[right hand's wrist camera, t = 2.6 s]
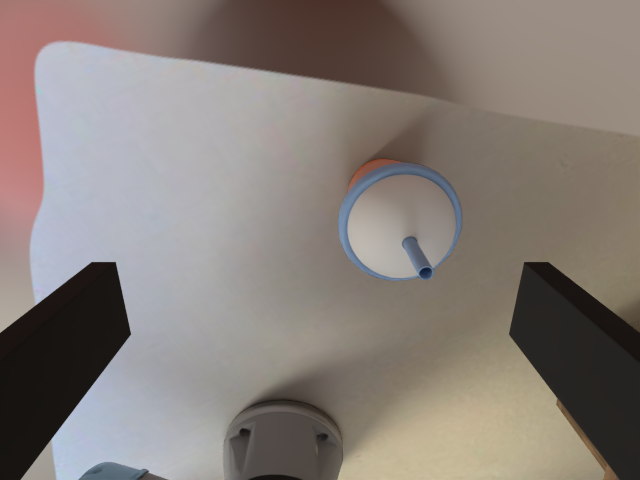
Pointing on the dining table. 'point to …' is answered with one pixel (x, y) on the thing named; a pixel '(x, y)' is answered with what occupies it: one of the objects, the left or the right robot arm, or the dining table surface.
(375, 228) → the cup with straw
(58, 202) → the dining table surface
